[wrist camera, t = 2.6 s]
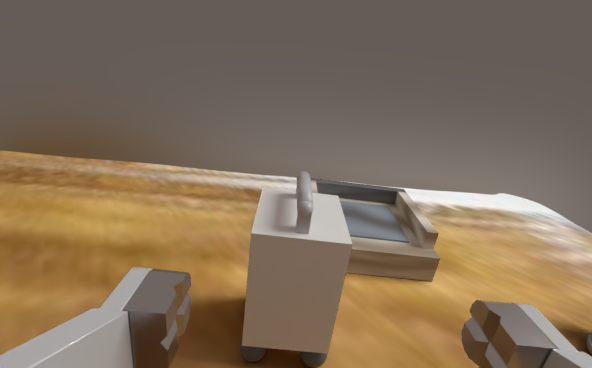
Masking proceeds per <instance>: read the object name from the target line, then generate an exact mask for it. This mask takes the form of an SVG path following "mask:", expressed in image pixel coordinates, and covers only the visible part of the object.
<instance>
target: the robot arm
mask: <svg viewBox="0 0 592 368" xmlns="http://www.w3.org/2000/svg"><path fill="white" fill-rule="evenodd" d="M190 286H191V276H190V274H189V273H187V272H178V271H169V270H161V269H151V268H141V267H134V268H132V269H130V270H129V271H128V273H127V274H126V275H125V276H124V278H123V279H122V280H121V281H120V283H119V284H118V285H117V286H116V288H115V289H114V290H113V291H112V293H111V294H110V295H109V296H108V298H107V299H106V300H105V301H104V303H103V304H102V305H101V306H100V308H99V309H95V308H92V309H90V310H88V311H86V312H84V313H82V314H80V315H78V316H77V317H75V318H73V319H71V320H69V321H67V322H65V323H63V324H61V325H59V326H57V327H55V328H53V329H51V330H49V331H47V332H45V333H43V334H41V335H39V336H37V337H35V338H33V339H31V340H29V341H27V342H25V343H23V344H22V345H20V346H18V347H16V348H14V349H12V350H10V351H8V352H6V353H4V354H2V355H0V368H170V366H171V363H172V361H173V358H174V356H175V354H176V351H177V349H178V337H180V336H181V335H182V334H184V332H185V329H186V327H187V324H188V320H189V316H190V310H191V297H190V296H189V295H188V293H187V292H188V290H189V288H190ZM470 313H471V315H472V318H471V319H469V320H468V321H467V322H465V324H464V326H463V329H462V344H463V347H464V350H465V352H466V354H467V355H468V357H469V359H471V360H472V361H473V362H474V363H476V364H477V365H478V366H479V367H478V368H592V356H590V355H588V354H587V353H585V352H579V351H577V350H576V348H575V347H574V346H573V345H572V344H571V343H570V342H569V341H568V340H567V339H566V338H565V337H564V336H563V335H562V334H561V333H560V332H559V331H558V330H557V329H556V328H555V327H554V326H553V325H552V324H551V323H550V322H549V321H548V320H547V319H546V317H545V316H544V315H543V314H542V313H541V312H540V311H539V310H538V309H537V308H536V307H534V306H532V305H530V304H524V303H504V302H493V301H482V300H476V301H475V302H474V303H473V304H472V306H471V309H470Z"/></svg>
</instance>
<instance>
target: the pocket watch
mask: <svg viewBox="0 0 592 368" xmlns="http://www.w3.org/2000/svg"><path fill="white" fill-rule="evenodd" d="M586 344H587V348H588V350H589V352H590V353H591V355H592V332H591V333H590V334H589V335H588V337H587V340H586Z"/></svg>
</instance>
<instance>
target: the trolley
mask: <svg viewBox="0 0 592 368" xmlns="http://www.w3.org/2000/svg"><path fill="white" fill-rule="evenodd" d="M351 249H352V241H351V238H350V234H349V231H348V227H347V224H346V220H345V217H344V214H343V210H342V207H341V203H340V200H339V197H338V196H337V195H329V194H320V193H312V189H311V179H310V175H309V174H308V173H307V172H300V173H299V174H298V176H297V189H296V191H294V190H286V189H277V188H268V187H263V189H262V193H261V197H260V201H259V205H258V208H257V212H256V216H255V220H254V224H253V228H252V232H251V241H250V253H249V265H248V277H247V289H246V301H245V313H244V325H243V337H242V340H241V343H240V351H241V354H242V356H243V357H244V358H245V359H246V360H247V361H250V362H256V361H259V360H261V359H262V358H263V357H264V356H265V354H266V352H267V348H272V349H283V350H293V351H300V355H301V358H302V360H303V362H304V363H305V364H306V365H307V366H309V367H313V368H315V367H319V366H321V365H322V364H323V363H324V362H325V360H326V358H327V354H328V351H329V346H330V342H331V337H332V333H333V329H334V324H335V320H336V315H337V311H338V306H339V302H340V298H341V293H342V289H343V284H344V280H345V275H346V271H347V267H348V262H349V258H350V253H351Z"/></svg>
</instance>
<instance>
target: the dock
mask: <svg viewBox="0 0 592 368" xmlns="http://www.w3.org/2000/svg"><path fill="white" fill-rule="evenodd" d="M310 179H311V189H312V193H320V194H329V195H337V196H338V197H339V200H340V203H341V207H342V210H343V214H344V217H345V220H346V224H347V227H348V231H349V234H350V238H351V241H352V249H351V253H350V258H349V262H348V267H347V271H346V272H347V273H357V274H366V275H375V276H385V277H394V278H404V279H413V280H423V281H432V280H433V277H434V274H435V271H436V269H437V266H438V263H439V260H440V258H439V256H438V255H437V254H436V252H435V251H434V249H433V248H434V245H435V242H436V240H437V237H438V234H439V233H438V232H437V231H436V230H435V228H434V227H433V226H432V224H431V223H430V222H429V221H428V219H427V218H426V217H425V216H424V214H423V213H422V212H421V211H420V209H419V208H418V207H417V206H416V204H415V203H414V202H413V200H412V199H411V198H410V197H409V195H408V194H407V193H406V192H405V190H404V189H398V188H389V187H381V186H372V185H364V184H355V183H347V182H339V181H330V180H321V179H312V178H310Z"/></svg>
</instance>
